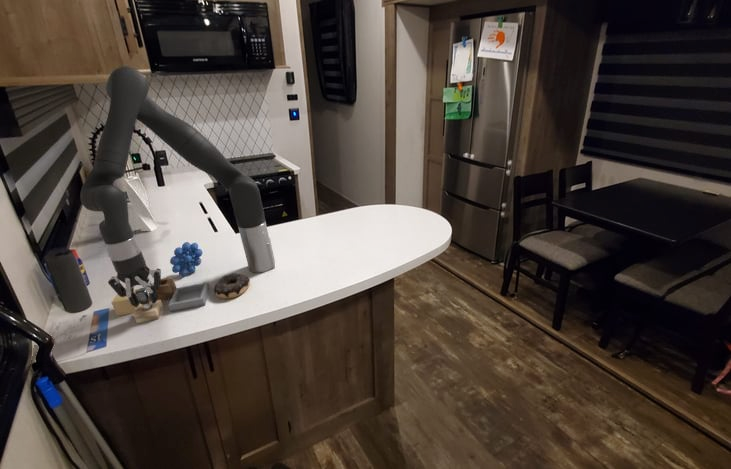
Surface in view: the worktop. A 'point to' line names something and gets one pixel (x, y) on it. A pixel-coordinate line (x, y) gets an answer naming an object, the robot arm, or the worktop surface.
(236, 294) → the donut
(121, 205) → the robot arm
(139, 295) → the cylinder
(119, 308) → the block
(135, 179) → the skyscraper
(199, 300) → the tray
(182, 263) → the grapes
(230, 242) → the worktop surface
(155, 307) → the stand
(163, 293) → the block
